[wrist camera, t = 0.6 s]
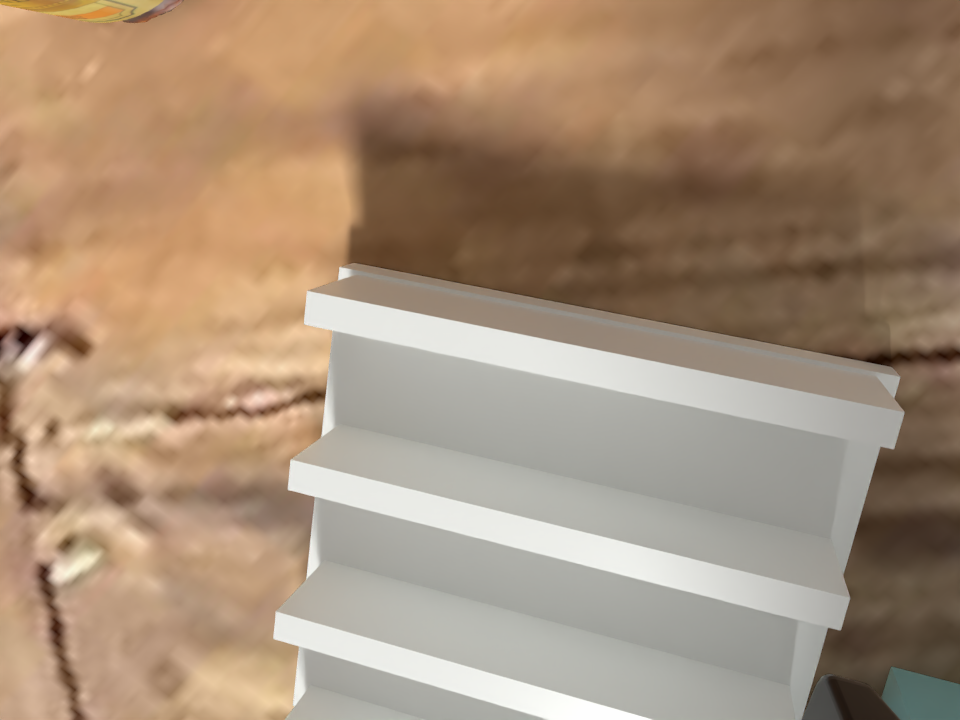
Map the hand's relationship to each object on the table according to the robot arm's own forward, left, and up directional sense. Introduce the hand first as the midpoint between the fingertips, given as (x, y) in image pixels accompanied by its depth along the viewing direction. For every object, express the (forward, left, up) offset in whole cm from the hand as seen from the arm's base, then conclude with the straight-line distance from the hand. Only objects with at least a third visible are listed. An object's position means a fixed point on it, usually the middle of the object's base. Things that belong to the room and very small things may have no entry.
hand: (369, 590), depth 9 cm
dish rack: (-6, -1, -15) cm, 16 cm away
